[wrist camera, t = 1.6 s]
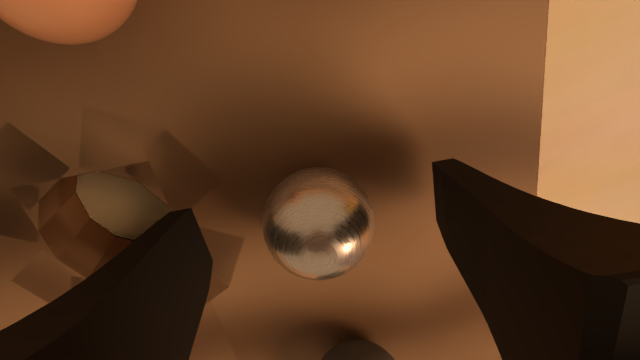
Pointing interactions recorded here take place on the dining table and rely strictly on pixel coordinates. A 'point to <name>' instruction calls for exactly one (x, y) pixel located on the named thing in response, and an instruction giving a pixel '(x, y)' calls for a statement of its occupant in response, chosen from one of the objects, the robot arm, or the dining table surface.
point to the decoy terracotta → (66, 18)
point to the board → (274, 155)
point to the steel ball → (318, 223)
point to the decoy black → (357, 351)
